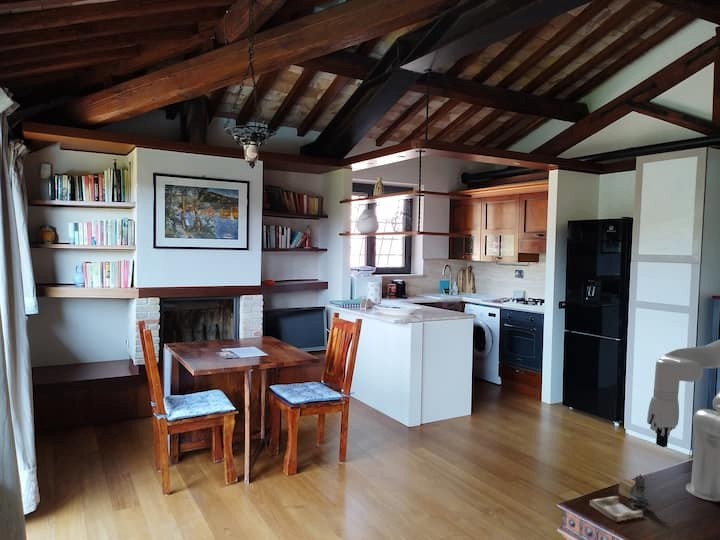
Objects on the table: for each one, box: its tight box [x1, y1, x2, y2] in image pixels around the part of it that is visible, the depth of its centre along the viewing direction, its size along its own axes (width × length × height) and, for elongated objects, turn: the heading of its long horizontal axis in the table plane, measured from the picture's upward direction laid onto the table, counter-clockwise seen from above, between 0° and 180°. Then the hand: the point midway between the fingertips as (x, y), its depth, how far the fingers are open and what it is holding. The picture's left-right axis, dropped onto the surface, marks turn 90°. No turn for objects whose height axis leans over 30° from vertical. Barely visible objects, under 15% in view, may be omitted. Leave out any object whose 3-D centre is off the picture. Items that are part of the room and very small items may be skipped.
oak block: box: [618, 478, 635, 500], centre depth 192 cm, size 5×5×5 cm
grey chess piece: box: [629, 473, 649, 512], centre depth 184 cm, size 6×6×12 cm
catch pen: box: [589, 495, 644, 523], centre depth 181 cm, size 12×11×2 cm
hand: (661, 445), depth 186 cm, fingers closed
